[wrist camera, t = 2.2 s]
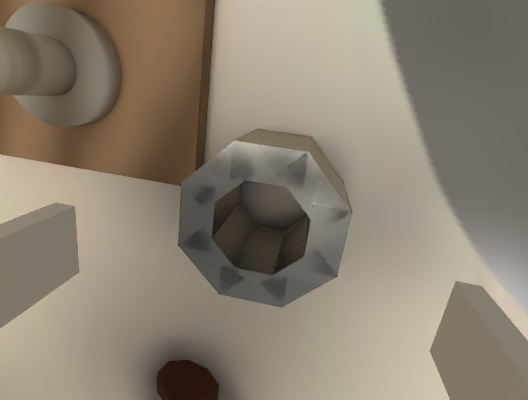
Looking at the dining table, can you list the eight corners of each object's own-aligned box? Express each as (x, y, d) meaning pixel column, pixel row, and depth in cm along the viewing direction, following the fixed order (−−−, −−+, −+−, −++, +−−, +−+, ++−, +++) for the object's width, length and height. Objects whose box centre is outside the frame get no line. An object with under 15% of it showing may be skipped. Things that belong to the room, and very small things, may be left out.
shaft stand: (-9, 146, 23) (-209, 174, 15) (-36, -50, 20) (-328, -173, 11) (202, 182, 22) (120, 239, 13) (216, -26, 18) (115, -151, 9)
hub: (211, 239, 23) (175, 285, 17) (221, 123, 20) (183, 132, 15) (325, 261, 22) (328, 317, 16) (351, 142, 19) (364, 159, 14)
